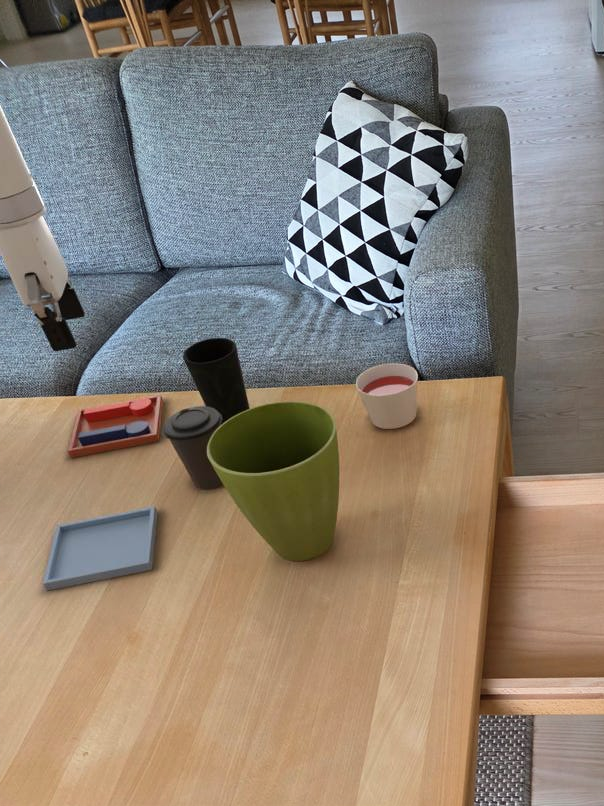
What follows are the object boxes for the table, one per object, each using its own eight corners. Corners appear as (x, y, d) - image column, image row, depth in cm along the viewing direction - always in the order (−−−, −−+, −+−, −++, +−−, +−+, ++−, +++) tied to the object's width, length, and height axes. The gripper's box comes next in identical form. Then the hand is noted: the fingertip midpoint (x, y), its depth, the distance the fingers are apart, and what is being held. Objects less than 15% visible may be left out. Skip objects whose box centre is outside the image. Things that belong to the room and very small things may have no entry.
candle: (363, 406, 133) (355, 368, 128) (421, 397, 133) (415, 359, 129) (364, 438, 127) (356, 399, 122) (425, 429, 127) (419, 390, 122)
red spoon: (86, 426, 136) (82, 417, 135) (89, 415, 138) (85, 406, 137) (152, 414, 137) (149, 405, 135) (154, 403, 139) (150, 394, 138)
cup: (269, 416, 133) (246, 343, 125) (234, 442, 129) (209, 368, 121) (233, 405, 137) (209, 333, 128) (198, 430, 133) (171, 357, 124)
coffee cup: (207, 457, 127) (184, 396, 120) (252, 467, 124) (231, 405, 117) (172, 489, 122) (146, 427, 115) (218, 500, 119) (194, 437, 112)
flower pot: (329, 592, 104) (296, 482, 92) (223, 572, 108) (180, 464, 97) (381, 516, 113) (357, 408, 102) (282, 500, 118) (249, 395, 106)
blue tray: (46, 590, 109) (42, 583, 108) (60, 532, 117) (56, 525, 117) (152, 569, 110) (148, 562, 109) (158, 513, 118) (154, 506, 118)
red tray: (70, 457, 130) (67, 451, 130) (80, 416, 139) (77, 409, 138) (159, 441, 131) (156, 434, 131) (163, 401, 140) (160, 394, 139)
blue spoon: (81, 450, 131) (76, 441, 130) (84, 438, 133) (79, 429, 132) (149, 437, 132) (146, 428, 131) (151, 425, 134) (147, 416, 133)
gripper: (-7, 188, 116) (51, 311, 128) (-34, 235, 104) (33, 367, 116) (50, 178, 116) (103, 302, 128) (29, 224, 104) (90, 356, 116)
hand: (70, 332), depth 122 cm, fingers open, 9 cm apart
